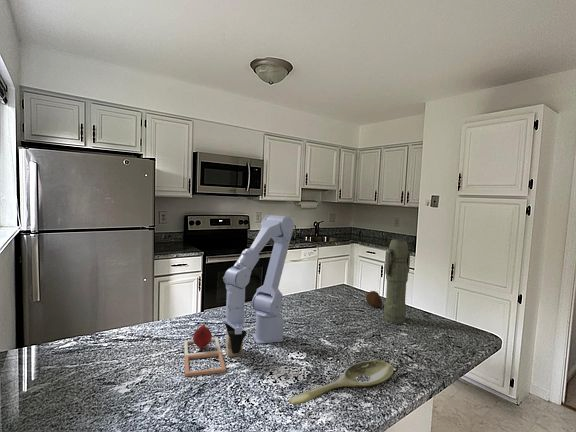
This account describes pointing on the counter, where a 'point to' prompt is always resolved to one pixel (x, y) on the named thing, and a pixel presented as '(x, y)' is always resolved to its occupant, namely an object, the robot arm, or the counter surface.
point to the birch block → (228, 347)
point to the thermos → (396, 280)
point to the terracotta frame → (208, 371)
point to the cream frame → (201, 352)
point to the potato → (373, 299)
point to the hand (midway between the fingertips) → (233, 347)
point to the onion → (202, 336)
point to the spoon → (351, 379)
